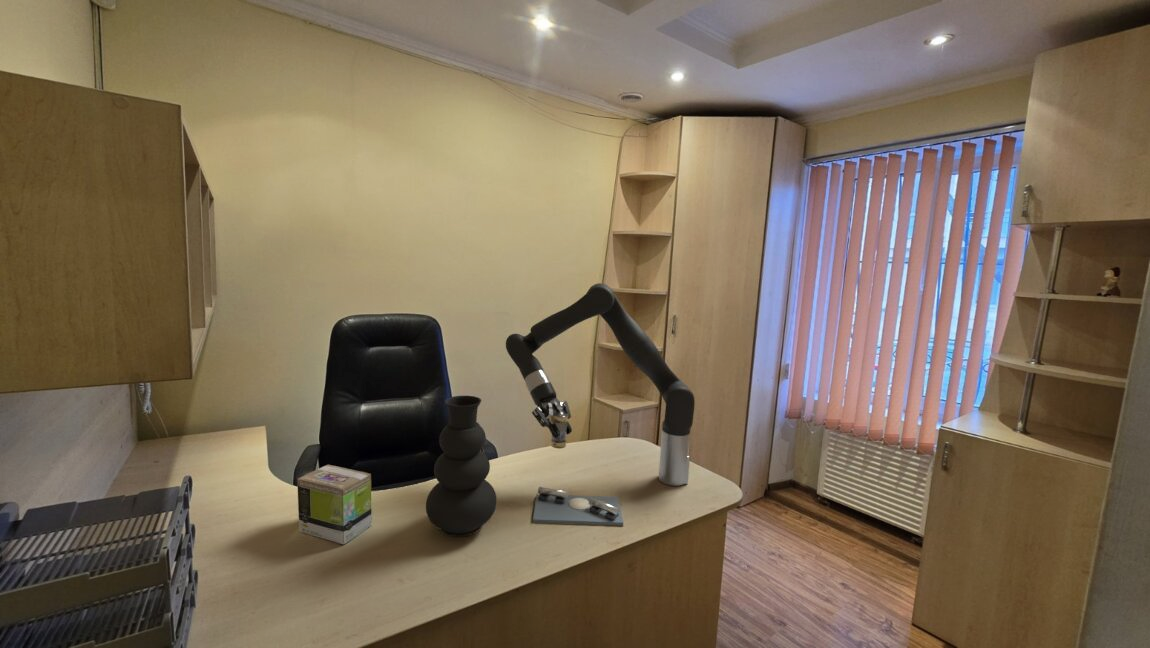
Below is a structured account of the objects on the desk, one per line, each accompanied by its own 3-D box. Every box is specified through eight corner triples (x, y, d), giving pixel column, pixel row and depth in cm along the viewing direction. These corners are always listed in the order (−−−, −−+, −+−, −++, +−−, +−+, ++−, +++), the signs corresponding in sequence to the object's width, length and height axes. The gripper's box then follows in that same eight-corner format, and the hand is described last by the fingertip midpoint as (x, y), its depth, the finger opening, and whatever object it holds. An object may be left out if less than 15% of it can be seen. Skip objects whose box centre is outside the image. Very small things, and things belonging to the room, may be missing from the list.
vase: (423, 513, 131) (423, 392, 126) (489, 504, 138) (491, 389, 133) (428, 553, 114) (428, 414, 109) (502, 540, 121) (506, 409, 116)
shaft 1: (568, 502, 141) (569, 489, 140) (565, 508, 137) (566, 494, 137) (540, 497, 143) (540, 484, 142) (536, 503, 140) (537, 489, 139)
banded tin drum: (564, 442, 149) (566, 412, 147) (567, 448, 144) (569, 417, 143) (549, 442, 148) (551, 412, 147) (551, 448, 143) (554, 417, 142)
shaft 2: (586, 514, 135) (587, 500, 134) (593, 508, 138) (593, 495, 137) (613, 525, 130) (614, 510, 129) (619, 519, 133) (620, 505, 132)
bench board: (618, 500, 143) (618, 496, 143) (623, 525, 130) (623, 521, 129) (536, 497, 143) (536, 493, 143) (533, 522, 129) (533, 518, 129)
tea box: (373, 525, 125) (372, 472, 123) (343, 546, 115) (342, 490, 113) (329, 513, 129) (328, 462, 127) (297, 532, 120) (295, 478, 118)
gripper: (529, 384, 143) (553, 434, 137) (562, 378, 154) (586, 424, 147) (517, 396, 148) (540, 445, 141) (550, 390, 158) (573, 435, 151)
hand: (563, 434), depth 144 cm, fingers closed on banded tin drum, 4 cm apart
